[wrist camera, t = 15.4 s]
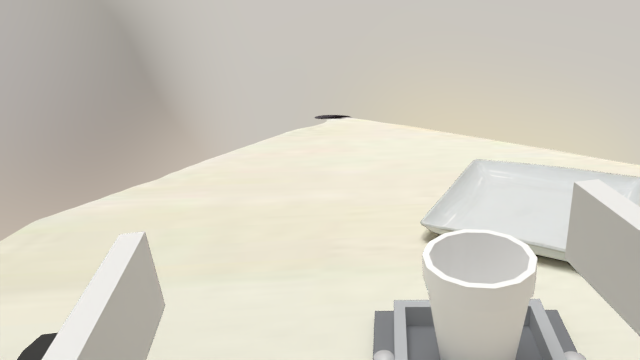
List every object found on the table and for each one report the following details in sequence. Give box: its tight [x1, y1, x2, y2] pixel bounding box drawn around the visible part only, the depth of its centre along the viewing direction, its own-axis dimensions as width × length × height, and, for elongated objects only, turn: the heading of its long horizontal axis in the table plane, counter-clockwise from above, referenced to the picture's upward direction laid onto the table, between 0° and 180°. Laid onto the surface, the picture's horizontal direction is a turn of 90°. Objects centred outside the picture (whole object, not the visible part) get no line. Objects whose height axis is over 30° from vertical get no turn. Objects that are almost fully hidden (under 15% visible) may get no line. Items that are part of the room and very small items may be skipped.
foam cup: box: [422, 229, 537, 360], centre depth 45 cm, size 10×9×13 cm
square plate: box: [421, 159, 640, 262], centre depth 75 cm, size 27×27×4 cm
